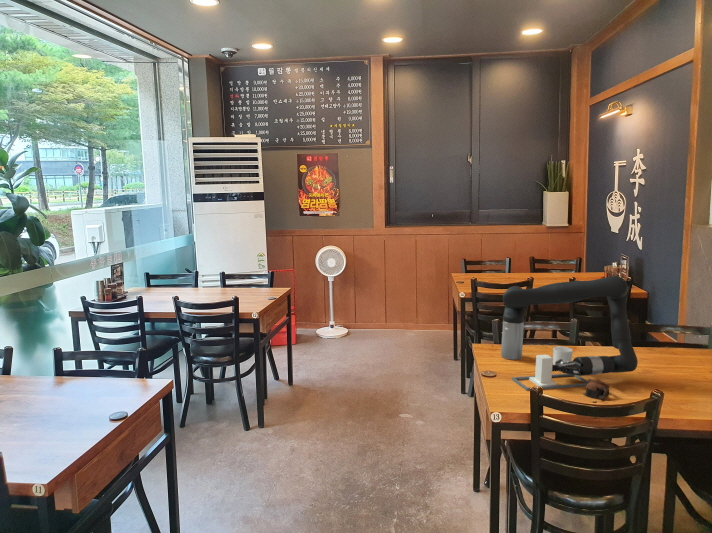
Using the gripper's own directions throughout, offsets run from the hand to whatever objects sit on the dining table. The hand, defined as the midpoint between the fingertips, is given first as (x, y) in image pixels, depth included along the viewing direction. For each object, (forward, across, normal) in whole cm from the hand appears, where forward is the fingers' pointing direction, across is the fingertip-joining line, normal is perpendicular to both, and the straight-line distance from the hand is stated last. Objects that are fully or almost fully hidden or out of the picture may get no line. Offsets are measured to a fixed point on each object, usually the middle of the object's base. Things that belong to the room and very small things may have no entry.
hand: (548, 368), depth 211 cm
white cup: (-15, -15, +8) cm, 23 cm away
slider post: (+2, 0, +6) cm, 6 cm away
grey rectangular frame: (-1, 0, +8) cm, 8 cm away
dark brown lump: (-11, +15, +8) cm, 21 cm away
